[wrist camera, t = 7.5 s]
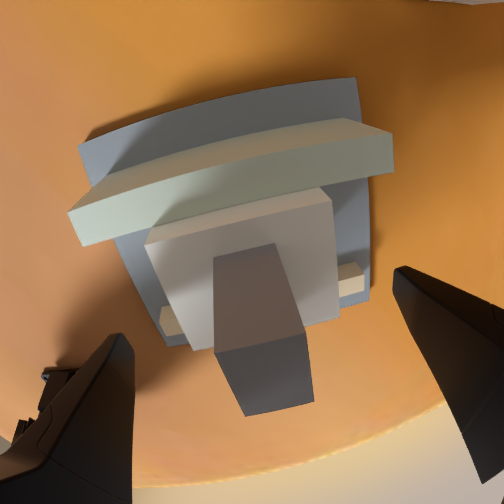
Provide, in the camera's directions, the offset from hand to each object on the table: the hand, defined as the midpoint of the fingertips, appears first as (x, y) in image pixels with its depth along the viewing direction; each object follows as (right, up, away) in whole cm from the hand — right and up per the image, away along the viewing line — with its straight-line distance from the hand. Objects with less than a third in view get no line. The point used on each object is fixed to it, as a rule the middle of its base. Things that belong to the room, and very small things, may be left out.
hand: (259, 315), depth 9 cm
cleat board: (-1, +3, +8) cm, 8 cm away
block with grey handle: (-1, +4, +6) cm, 8 cm away
